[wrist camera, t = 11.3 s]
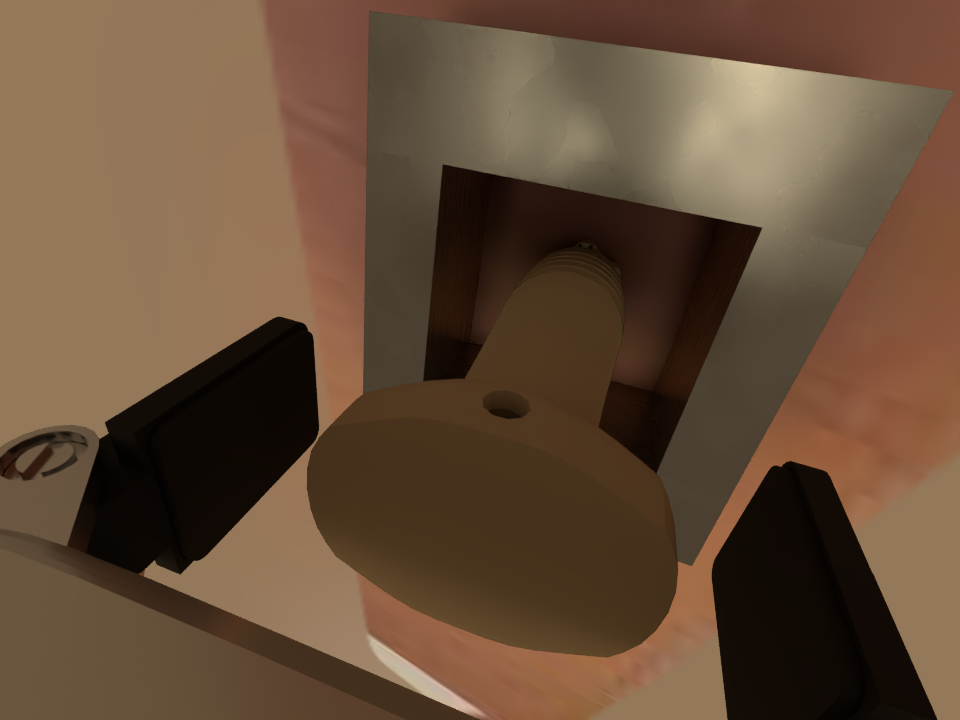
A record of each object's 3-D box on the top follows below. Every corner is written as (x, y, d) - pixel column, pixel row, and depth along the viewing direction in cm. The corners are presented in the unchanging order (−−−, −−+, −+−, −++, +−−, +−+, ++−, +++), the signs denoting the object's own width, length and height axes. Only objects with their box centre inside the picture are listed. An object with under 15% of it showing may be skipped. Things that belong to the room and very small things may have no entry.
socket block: (447, 35, 18) (369, 10, 13) (856, 93, 16) (954, 90, 10) (417, 387, 26) (362, 455, 21) (683, 466, 24) (691, 566, 19)
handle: (518, 203, 20) (297, 377, 8) (676, 234, 19) (725, 502, 6) (502, 309, 23) (314, 572, 10) (641, 342, 21) (625, 691, 9)
